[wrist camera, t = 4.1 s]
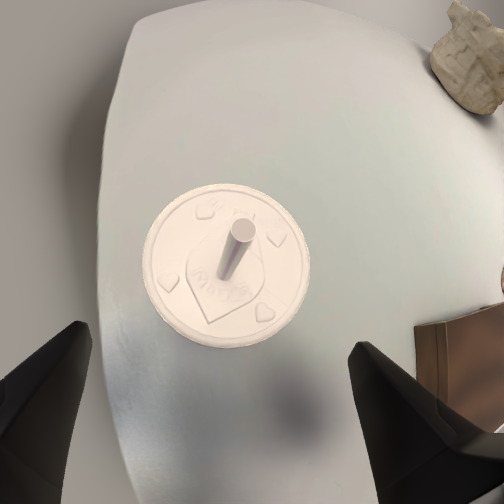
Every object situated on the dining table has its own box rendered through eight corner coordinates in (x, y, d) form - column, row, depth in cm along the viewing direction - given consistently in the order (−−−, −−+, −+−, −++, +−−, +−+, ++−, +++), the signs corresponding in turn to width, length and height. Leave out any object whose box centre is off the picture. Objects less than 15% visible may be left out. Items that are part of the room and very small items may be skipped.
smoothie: (154, 324, 18) (60, 294, 5) (185, 238, 20) (177, 81, 7) (244, 354, 19) (349, 388, 5) (269, 267, 21) (383, 156, 8)
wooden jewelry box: (488, 413, 21) (512, 415, 17) (412, 462, 18) (440, 473, 14) (487, 305, 24) (512, 299, 21) (413, 326, 22) (445, 322, 18)
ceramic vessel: (472, 45, 39) (547, 43, 16) (472, 128, 48) (555, 145, 25) (409, 3, 34) (493, -24, 11) (410, 96, 43) (514, 97, 20)
